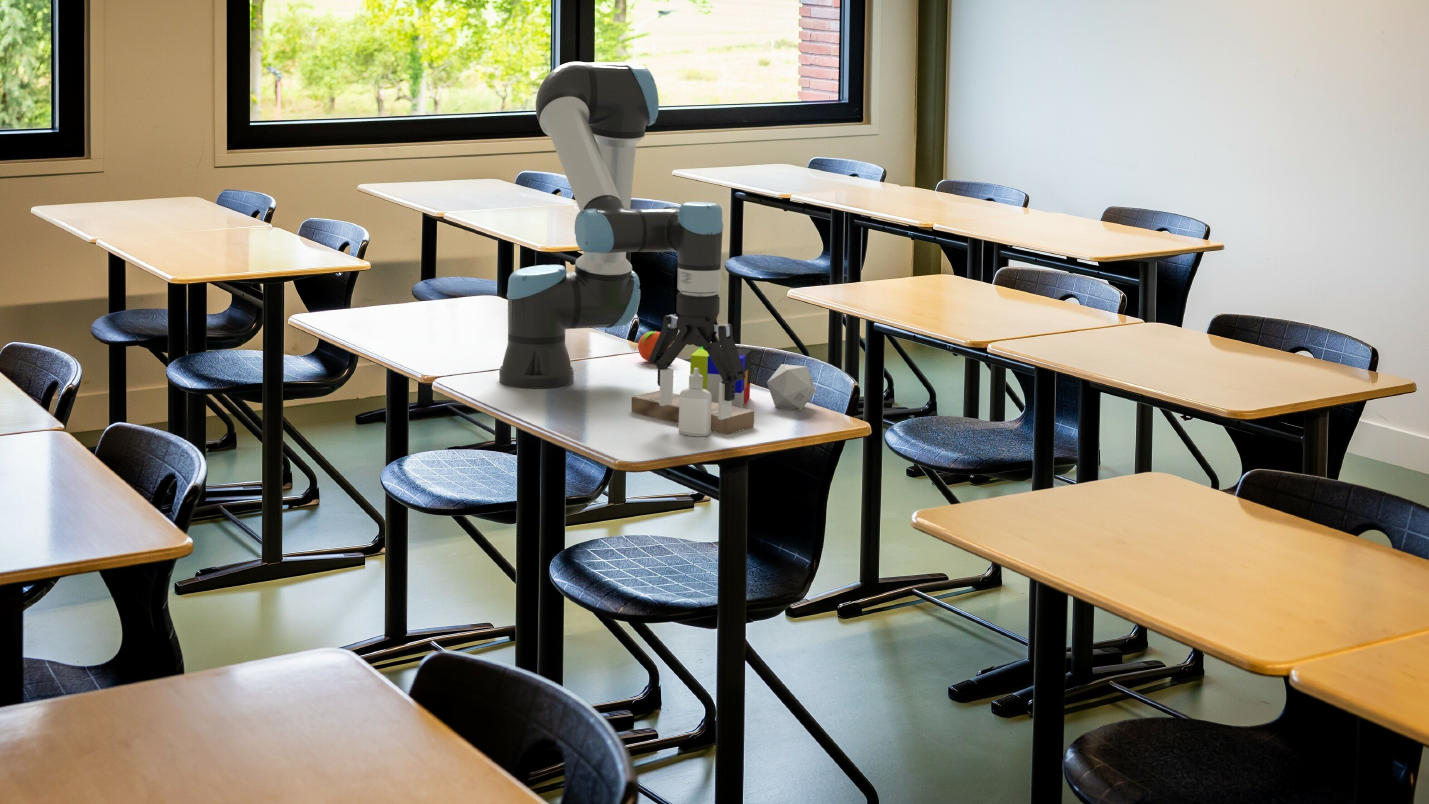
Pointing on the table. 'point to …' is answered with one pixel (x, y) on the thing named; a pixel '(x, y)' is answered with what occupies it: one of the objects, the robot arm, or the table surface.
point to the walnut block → (651, 408)
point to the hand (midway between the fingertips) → (694, 411)
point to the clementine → (647, 344)
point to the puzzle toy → (713, 377)
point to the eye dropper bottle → (695, 408)
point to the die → (791, 386)
